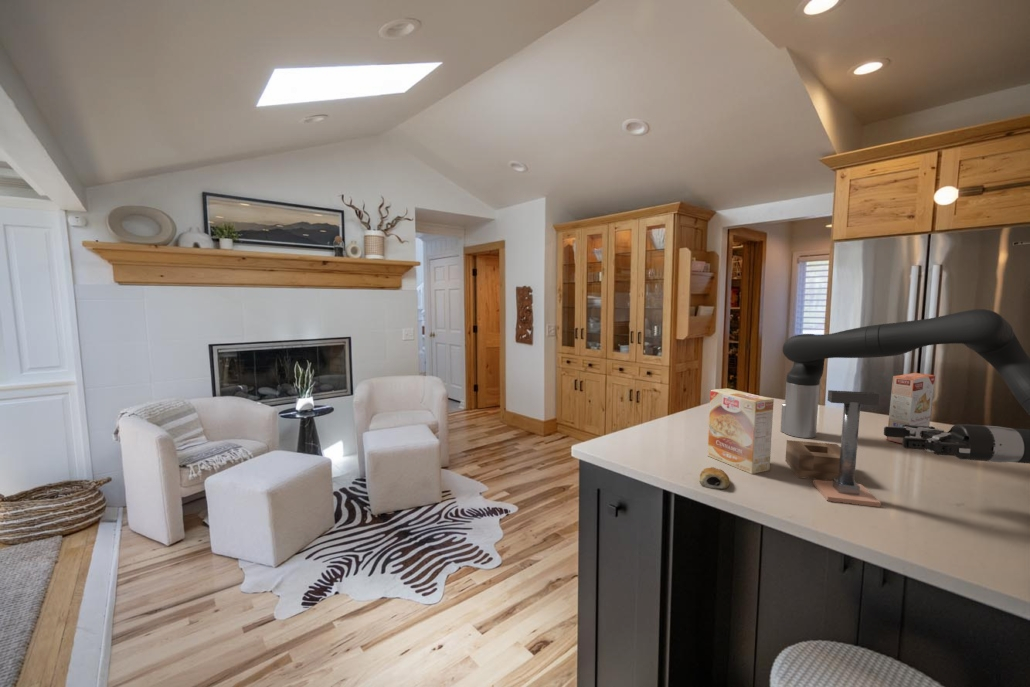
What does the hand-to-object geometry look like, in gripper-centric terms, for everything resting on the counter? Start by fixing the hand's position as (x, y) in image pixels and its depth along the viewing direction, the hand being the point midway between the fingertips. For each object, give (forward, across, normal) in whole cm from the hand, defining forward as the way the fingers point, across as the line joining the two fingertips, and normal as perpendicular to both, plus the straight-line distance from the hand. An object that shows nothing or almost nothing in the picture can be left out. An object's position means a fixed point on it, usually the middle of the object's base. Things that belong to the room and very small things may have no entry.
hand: (893, 436), depth 102 cm
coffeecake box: (+29, -15, +15) cm, 36 cm away
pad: (+8, 0, +15) cm, 17 cm away
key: (+8, 0, +14) cm, 16 cm away
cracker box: (-26, -52, +15) cm, 60 cm away
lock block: (+10, -14, +14) cm, 23 cm away
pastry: (+37, +1, +15) cm, 40 cm away
